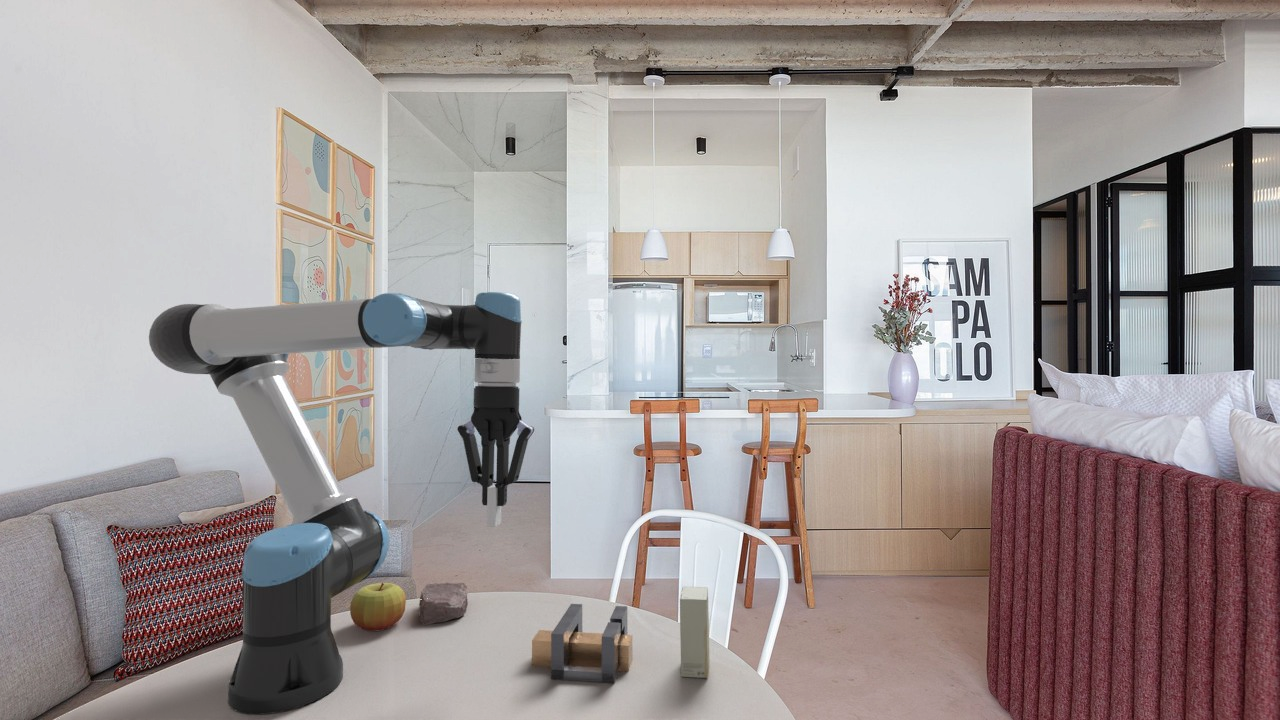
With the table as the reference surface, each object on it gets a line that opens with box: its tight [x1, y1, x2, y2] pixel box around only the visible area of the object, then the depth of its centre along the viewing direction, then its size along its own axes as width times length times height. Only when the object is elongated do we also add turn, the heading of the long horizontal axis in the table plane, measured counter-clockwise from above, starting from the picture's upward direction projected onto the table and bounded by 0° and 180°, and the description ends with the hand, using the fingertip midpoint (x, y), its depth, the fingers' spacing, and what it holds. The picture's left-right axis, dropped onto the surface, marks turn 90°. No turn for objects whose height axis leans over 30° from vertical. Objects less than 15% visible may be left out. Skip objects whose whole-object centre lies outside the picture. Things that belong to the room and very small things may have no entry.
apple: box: [349, 582, 407, 632], centre depth 116 cm, size 10×10×8 cm
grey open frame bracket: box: [550, 603, 628, 684], centre depth 101 cm, size 10×12×7 cm
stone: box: [418, 582, 469, 625], centre depth 123 cm, size 12×9×5 cm
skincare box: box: [679, 586, 711, 679], centre depth 99 cm, size 6×4×12 cm
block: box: [531, 629, 634, 672], centre depth 102 cm, size 16×4×4 cm, turn 82°
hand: (494, 524), depth 104 cm, fingers closed
